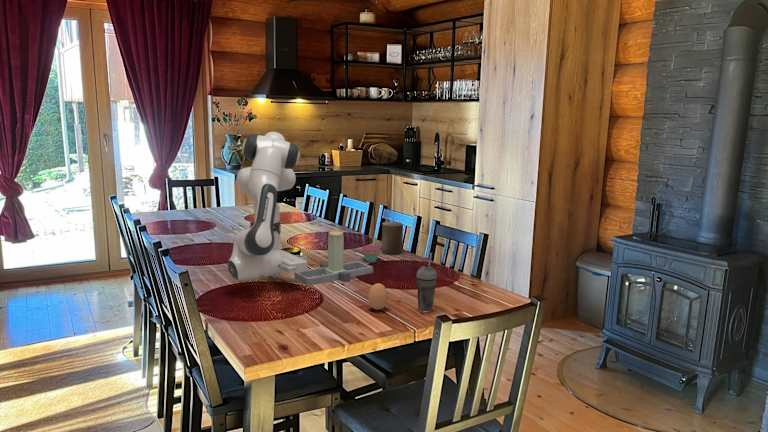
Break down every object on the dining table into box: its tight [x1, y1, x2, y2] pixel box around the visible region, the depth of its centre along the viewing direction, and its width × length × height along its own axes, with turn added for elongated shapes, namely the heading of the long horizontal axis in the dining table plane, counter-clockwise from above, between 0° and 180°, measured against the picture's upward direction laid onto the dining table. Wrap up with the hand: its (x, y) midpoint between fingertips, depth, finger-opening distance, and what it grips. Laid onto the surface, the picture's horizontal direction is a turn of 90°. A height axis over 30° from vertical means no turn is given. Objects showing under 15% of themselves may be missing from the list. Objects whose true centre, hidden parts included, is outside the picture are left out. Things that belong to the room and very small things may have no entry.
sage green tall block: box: [324, 230, 347, 275], centre depth 226 cm, size 6×7×17 cm
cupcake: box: [360, 234, 382, 263], centre depth 250 cm, size 9×8×12 cm
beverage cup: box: [415, 252, 438, 312], centre depth 191 cm, size 7×7×20 cm
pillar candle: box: [381, 221, 404, 256], centre depth 264 cm, size 10×10×15 cm
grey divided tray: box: [293, 260, 374, 286], centre depth 228 cm, size 30×18×3 cm, turn 128°
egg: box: [367, 282, 389, 311], centre depth 191 cm, size 7×7×9 cm
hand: (305, 258), depth 218 cm, fingers closed
